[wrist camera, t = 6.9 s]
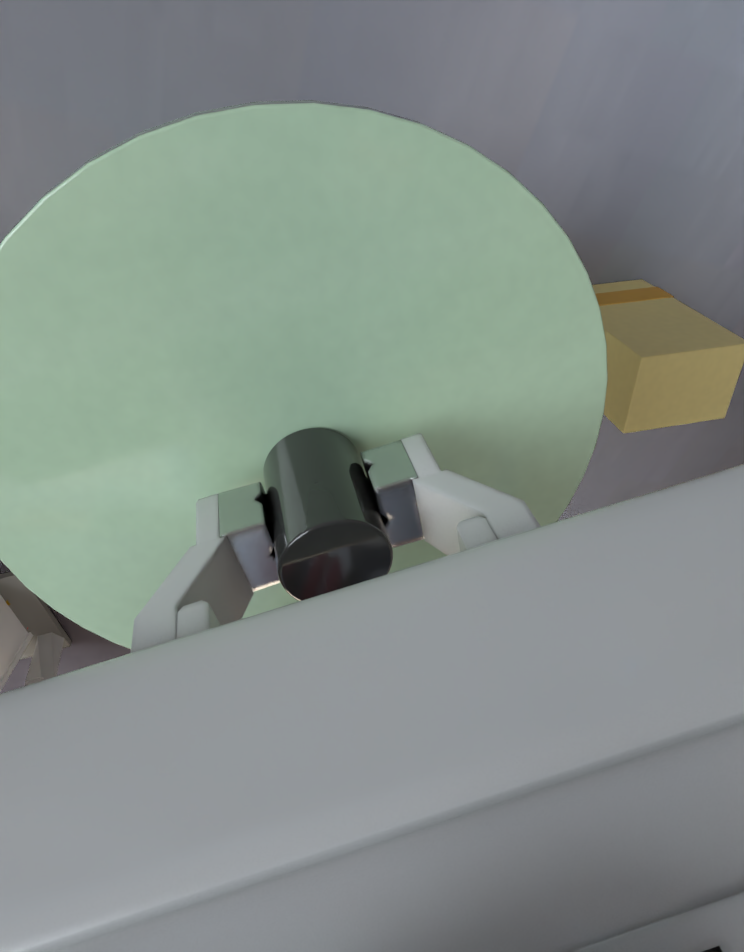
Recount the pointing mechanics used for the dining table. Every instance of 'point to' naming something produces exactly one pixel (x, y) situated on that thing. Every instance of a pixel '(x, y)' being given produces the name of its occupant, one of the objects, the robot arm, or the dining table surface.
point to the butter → (664, 359)
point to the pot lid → (278, 348)
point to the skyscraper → (28, 632)
